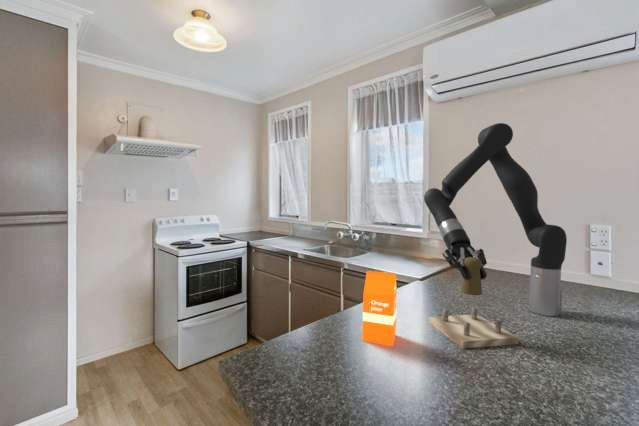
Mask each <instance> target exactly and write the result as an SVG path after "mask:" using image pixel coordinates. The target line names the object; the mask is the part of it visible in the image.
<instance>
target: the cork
mask: <svg viewBox="0 0 639 426" xmlns="http://www.w3.org/2000/svg"><path fill="white" fill-rule="evenodd" d="M464 264H465V266H464V267H466V268H467V270H468V272H469V274H470V276H471V278H470V279H469V280H465V278H463V277H462V283H461V287H460V288H461V289H460V291H461V293H463V294H465V295H468V296H469V295H470V296H481V295H483V288H482V286H483V285H482V280H481V276H480V268H481V267H482V261H481V260H480V259H478V258H474V257H468V258H465V260H464Z"/></svg>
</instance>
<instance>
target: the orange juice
mask: <svg viewBox="0 0 639 426" xmlns="http://www.w3.org/2000/svg"><path fill="white" fill-rule="evenodd" d="M397 290H398V287H397V274H396V273H394V272H393V273H392V272H384V271H374V270H367V271H366V274H365V282H364V287H363V293H362V294H363V295H362V296H363V297H362V298H363V302H362V303H363V304H362V305H363V306H362V342H368V343H373V344H378V343H379V345H384V344H385V346H390V345H391V346H390V347H393V345H394V341H395V338H396V331H397V330H396V328H397V327H396V325H397V323H396V322H397V293H398V292H397Z"/></svg>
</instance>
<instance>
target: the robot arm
mask: <svg viewBox="0 0 639 426" xmlns="http://www.w3.org/2000/svg"><path fill="white" fill-rule="evenodd" d="M513 137H514V131H513V128H512V127H511V125H509V124H507V123H504V122H499V123H495V124H491V125H489V126H487V127H485V128H484V129H482V130H481V131H480V132H479V133H478V136H477V143H478V146H477V147H475V148H474V150H473V151H472V152H470V153H469V154H468V155H467V156H466V157H464V159H462V160H461V161H460V162H459V163H457V165H455V166H454V167H453V168H452V169H451V170H450V172H449V173H448V174H447V175H445V177H444V178H443V179H442V181H441V187H442V188H441V190H440V189H439V188H437V187H434V188H433V187H432V188H429V189H428V190H426V192H425V193H424V195H423V200H424V203H425V205H426V206H427V208H428V210H429V212H430V213H431V214H432V216H433V219H434V221H435V223H436V224H435V225H436V226H437V227H438V229H439V233H440V235H441V238H442V240H443V242H444V244H445V246H446V248H447V249H445V250H444V252H443V253H442V256H443V258H444V259H445V260H446V262H447V263H448V265H449V266H450V267H451V268H452V269H457V270H459V273H460V275H461V277H462V279H463V278H465V280H469V279H470V278H471V276H470V274H469V272H468V270H467V268H466V267H465V264H464V260H465V258H468V257H474V258H478V259H480V260H481V261H482V267H481V268H480V276H481V281H482V280H485V279H486V278H487V276H488V275H487V272H486V270H485V269H484V267H485V266H486V265H487V263H488V261H487V258H486V255H485V253H484V250H483V248H480V249H475V248H474V247H473V246H472V245H471V239H470V237H469V236H468V233H467V232H466V230H465V228H464V226H463V225H462V223H461V222H460V221H459V218H458V217H457V215H456V213H455V212H454V211H453V210H452V209H451V207H450V206H451V205H452V203H453V201H454V199H455V198H456V196H457V194H458V192H459V191H460V190H461V189H462V188H463V187H464V186H465V185H466V184H467V183H468V181H470V179H471V178H472V177H473V176H474V175H475V174H476V173H477V172H478V171H479V170H480V169H481V168H482V167H484V165H485V164H486V163H487V162H488V161H489V162H490V164H491V165H492V167H493V170H494V172H495V173H496V176H497V177H498V179H499V181H500V183H501V185H502V187H503V189H504V191H505V193H506V195H507V197H508V199H509V200H510V202H511V204H512V206H513V208H514V210H515V211H516V213H517V215H518V217H519V219H520V222H521V224H522V227H523V230H524V232H525V235H526V237H527V240H528V241H529V243H530V244H531V245H532V246H534V247H537V248H538V254H537V256H533V257H531V260H530V276H529V295H528V296H529V298H528V310H529V311H530V312H532V313H535V314H537V315H540V316H546V317H558V316H559V315H562V306H563V304H562V303H563V288H561V284H562V283H561V281H562V280H561V279H562V267H563V266H562V265H563V263H564V262H565V260H566V250H567V243H568V242H567V234H566V231H565V229H563V227H562V226H559V225H555V224H547V223H546V221H545V220H544V219H543V217H542V214H541V213H540V210H539V207H538V204H539V203H538V202H539V201H538V200H539V195H538V188H537V186H536V185H535V183H534V181H533V179H532V177H531V175H530V173H528V172H527V171H526V169H524V168H523V167H522V166H521V165H520V164H519V163H518V162H517V161H516V160H515V159H514V158H513V157H512V156H511V154H510V153H509V151H508V149H507V146H509V144H510V143H511V141H512V140H513Z"/></svg>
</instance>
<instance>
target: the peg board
mask: <svg viewBox="0 0 639 426" xmlns="http://www.w3.org/2000/svg"><path fill="white" fill-rule="evenodd" d="M428 323H429V324H430V325H431V326H433V327H434V328H435V329H436V330H438V331H439V332H440V333H442V334H443V335H444V336H446V337H447V338H448V339H449V340H451V341H452V342H454V343H455V344H456V345H458V346H459V347H461V348H462V350H463V349H464V350H465V349H473V348H488V347H497V346H499V347H500V346H510V345H512V346H513V345H519V339H520V338H519V336H517V335H515V334H514V333H511V332H510V331H507V330H506V329H504V328H502V323H503V322H502V321H501V320H499V319H496V320H495V322H494V323H493V322H491V321H489V320H488V319H485V318H484V317H483V316H481V315H478V308H475V307H472V308H471V314H459V315H458V314H457V315H449V309H446V308H445V309H442V315H441V316H440V315H439V316H429V317H428Z"/></svg>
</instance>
